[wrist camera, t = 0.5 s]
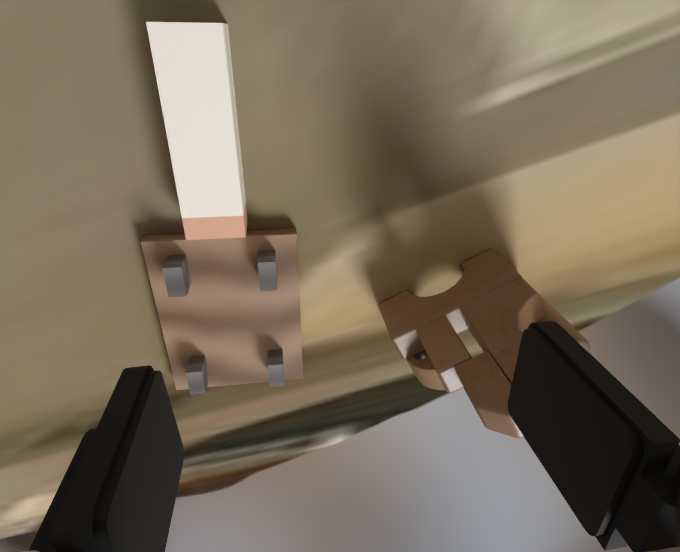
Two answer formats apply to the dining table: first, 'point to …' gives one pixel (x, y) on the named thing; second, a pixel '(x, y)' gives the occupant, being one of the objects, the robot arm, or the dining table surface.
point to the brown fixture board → (228, 307)
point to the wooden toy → (485, 325)
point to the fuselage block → (201, 126)
